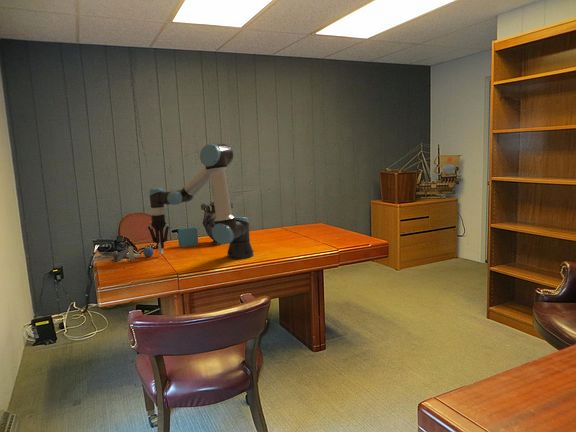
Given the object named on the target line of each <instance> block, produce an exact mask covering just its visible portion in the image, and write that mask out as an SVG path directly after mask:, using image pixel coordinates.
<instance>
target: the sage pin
mask: <svg viewBox="0 0 576 432" xmlns="http://www.w3.org/2000/svg"><path fill="white" fill-rule="evenodd" d="M128 248H129V258H128V259H129V262H132V263H133V262H135V258H134V254H135V253H134V246H132V245H131V246H130V245H129V246H128Z"/></svg>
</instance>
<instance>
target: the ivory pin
mask: <svg viewBox="0 0 576 432" xmlns="http://www.w3.org/2000/svg"><path fill="white" fill-rule="evenodd" d="M141 257H142V254H141V253H134V259H141ZM126 259H130V258H129V254H126Z"/></svg>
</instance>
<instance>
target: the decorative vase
mask: <svg viewBox="0 0 576 432" xmlns="http://www.w3.org/2000/svg"><path fill="white" fill-rule="evenodd" d="M230 205H231V209H233V202H230ZM200 208H201V209H200V210H202V211H204V212H203V221H202V226H203V227H204V229H205V232H206V234H207V235H208V237H209V238H210V239H211V240H213V241H211V243H212V245H215V244H219V245H221V244H220V243H218V242H217V241H215V239H214V238H213V236H212V229H213V227H214V226H215V224H214V220H215V218H216V212H215V206H214V201H212V202H210V204H207V203H201V204H200Z"/></svg>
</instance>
